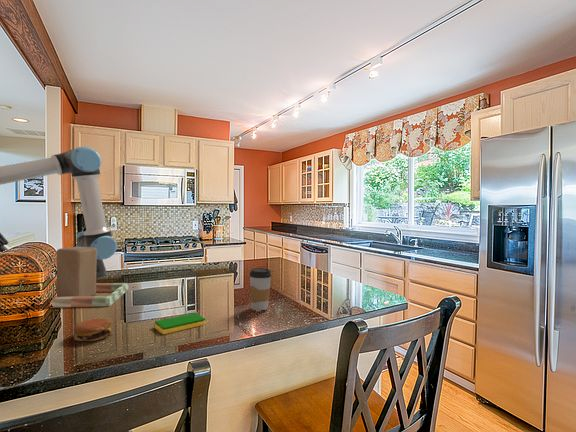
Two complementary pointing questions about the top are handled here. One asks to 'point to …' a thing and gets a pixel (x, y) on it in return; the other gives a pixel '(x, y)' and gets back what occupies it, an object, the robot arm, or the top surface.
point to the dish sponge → (179, 323)
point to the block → (76, 271)
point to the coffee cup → (259, 288)
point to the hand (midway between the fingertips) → (15, 259)
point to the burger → (92, 330)
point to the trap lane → (93, 300)
